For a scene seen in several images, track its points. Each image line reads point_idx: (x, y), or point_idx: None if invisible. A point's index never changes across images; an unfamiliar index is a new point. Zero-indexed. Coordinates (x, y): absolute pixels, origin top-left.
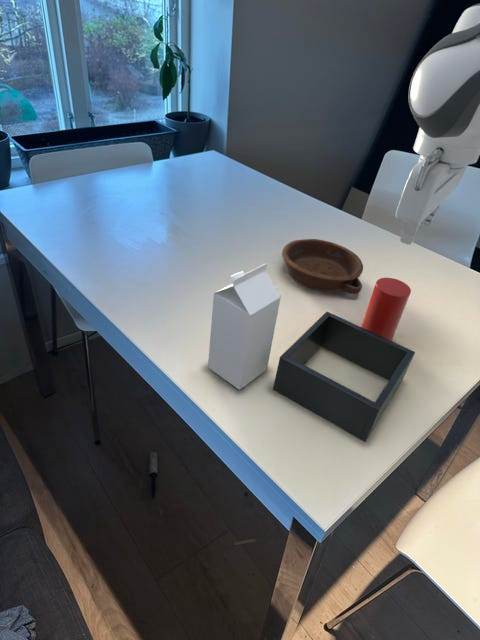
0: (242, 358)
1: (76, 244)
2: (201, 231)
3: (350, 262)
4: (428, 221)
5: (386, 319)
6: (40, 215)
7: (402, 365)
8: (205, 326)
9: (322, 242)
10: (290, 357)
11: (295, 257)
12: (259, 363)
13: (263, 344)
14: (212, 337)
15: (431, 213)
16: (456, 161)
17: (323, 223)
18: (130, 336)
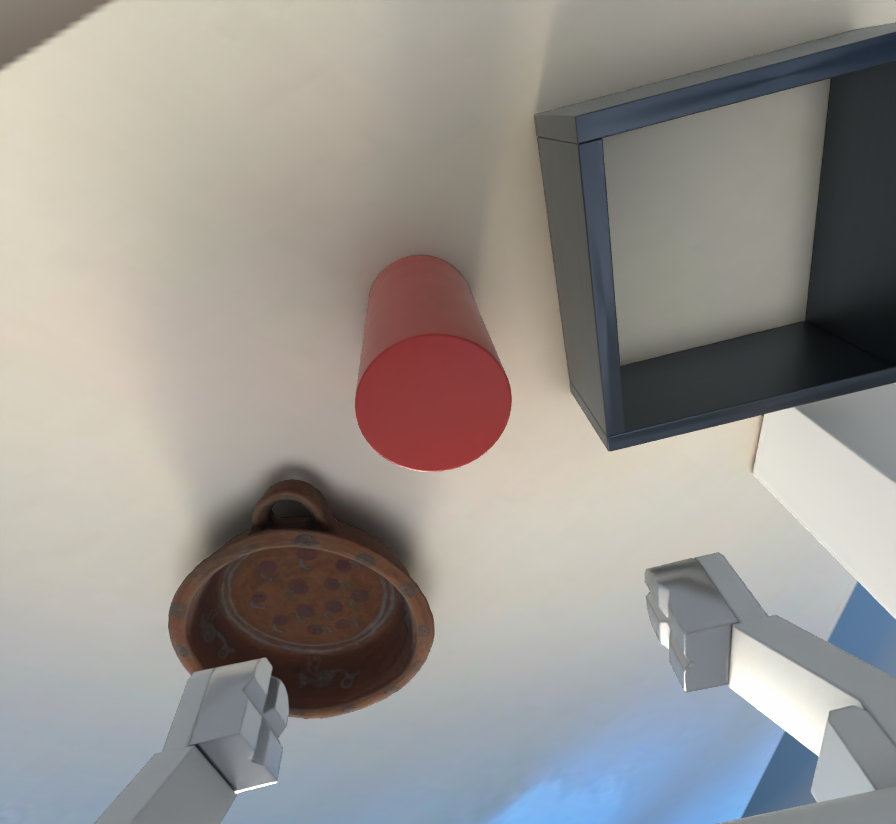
0: None
1: (688, 809)
2: (441, 791)
3: (203, 592)
4: (257, 693)
5: (478, 316)
6: None
7: (698, 99)
8: (727, 555)
9: None
10: (867, 365)
11: (332, 662)
12: (843, 402)
13: (890, 436)
14: None
15: (205, 765)
16: None
17: (68, 748)
18: (852, 590)
